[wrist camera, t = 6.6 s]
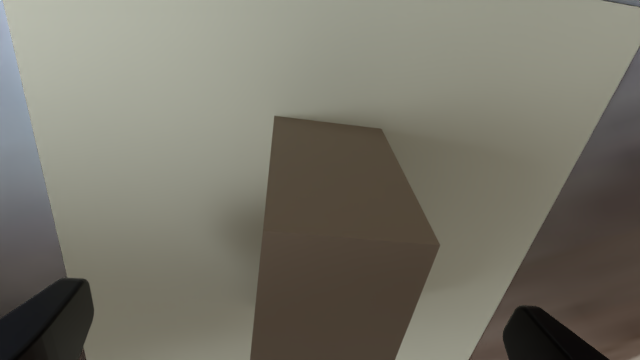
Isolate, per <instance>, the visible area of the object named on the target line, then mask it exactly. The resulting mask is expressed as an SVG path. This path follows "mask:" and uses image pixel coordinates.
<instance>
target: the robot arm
mask: <svg viewBox="0 0 640 360" xmlns="http://www.w3.org/2000/svg"><path fill="white" fill-rule="evenodd" d="M93 317H94V305H93V300H92V295H91V289H90V285H89V282H88V281H87V280H86V279H84V278H68V277H66V278H62V279H60V280H58V281H56V282H55V283H53V284H52V285H50V286H49V287H47V288H46V289H44V290H43V291H41V292H40V293H38V294H37V295H35V296H34V297H32V298H31V299H29V300H28V301H26V302H25V303H23V304H22V305H20V306H19V307H17V308H16V309H14V310H13V311H11V312H10V313H8V314H7V315H5V316H4V317H2V318H1V319H0V360H78V359H79V357H80V354H81V351H82V349H83V346H84V343H85V340H86V338H87V335H88V332H89V329H90V327H91V324H92V321H93ZM503 341H504V345H505V348H506V352H507V355H508V358H509V360H609V359H608V358H607V357H605V356H604V355H603V354H601V353H600V352H599V351H597V350H596V349H595V348H593V347H592V346H591V345H589V344H588V343H587V342H585V341H584V340H583V339H581V338H580V337H579V336H577V335H576V334H575V333H573V332H572V331H571V330H569V329H568V328H567V327H565V326H564V325H563V324H561V323H560V322H559V321H557V320H556V319H555V318H553V317H552V316H551V315H549V314H548V313H547V312H545V311H544V310H543V309H541V308H539V307H536V306H524V305H522V306H519V307H517V308H516V309H515V311H514V313H513V314H512V316H511V318H510V320H509V321H508V323H507V325H506V327H505V328H504V331H503Z"/></svg>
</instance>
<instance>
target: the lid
mask: <svg viewBox="0 0 640 360" xmlns="http://www.w3.org/2000/svg"><path fill="white" fill-rule="evenodd" d="M3 4H4V8H5V12H6V17H7V21H8V25H9V29H10V34H11V38H12V42H13V47H14V51H15V55H16V60H17V64H18V68H19V72H20V77H21V81H22V85H23V90H24V94H25V98H26V102H27V107H28V111H29V115H30V120H31V124H32V128H33V133H34V137H35V141H36V145H37V150H38V154H39V158H40V163H41V167H42V171H43V175H44V180H45V184H46V188H47V193H48V197H49V201H50V206H51V210H52V214H53V218H54V223H55V227H56V231H57V236H58V240H59V244H60V248H61V253H62V257H63V261H64V266H65V270H66V274H67V277H68V278H84V279H86V280H87V281H88V282H89V285H90V289H91V295H92V300H93V305H94V317H93V321H92V324H91V327H90V329H89V332H88V335H87V338H86V340H85V343H84V346H83V347H84V351H85V356H86V360H469V358H470V356H471V354H472V352H473V351H474V349H475V347H476V345H477V343H478V341H479V340H480V338H481V336H482V334H483V332H484V330H485V329H486V327H487V325H488V323H489V321H490V319H491V318H492V316H493V314H494V312H495V310H496V308H497V307H498V305H499V303H500V301H501V299H502V297H503V296H504V294H505V292H506V290H507V288H508V286H509V285H510V283H511V281H512V279H513V277H514V275H515V274H516V272H517V270H518V268H519V266H520V264H521V263H522V261H523V259H524V257H525V255H526V253H527V252H528V250H529V248H530V246H531V244H532V242H533V241H534V239H535V237H536V235H537V233H538V231H539V230H540V228H541V226H542V224H543V222H544V220H545V219H546V217H547V215H548V213H549V211H550V209H551V208H552V206H553V204H554V202H555V200H556V198H557V197H558V195H559V193H560V191H561V189H562V187H563V186H564V184H565V182H566V180H567V178H568V176H569V175H570V173H571V171H572V169H573V167H574V165H575V164H576V162H577V160H578V158H579V156H580V154H581V153H582V151H583V149H584V147H585V145H586V143H587V142H588V140H589V138H590V136H591V134H592V132H593V131H594V129H595V127H596V125H597V123H598V121H599V120H600V118H601V116H602V114H603V112H604V110H605V109H606V107H607V105H608V103H609V101H610V99H611V98H612V96H613V94H614V92H615V90H616V88H617V87H618V85H619V83H620V81H621V79H622V77H623V76H624V74H625V72H626V70H627V68H628V66H629V65H630V63H631V61H632V59H633V57H634V55H635V54H636V52H637V50H638V48H639V46H640V7H635V6H630V5H624V4H618V3H613V2H607V1H602V0H3Z"/></svg>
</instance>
